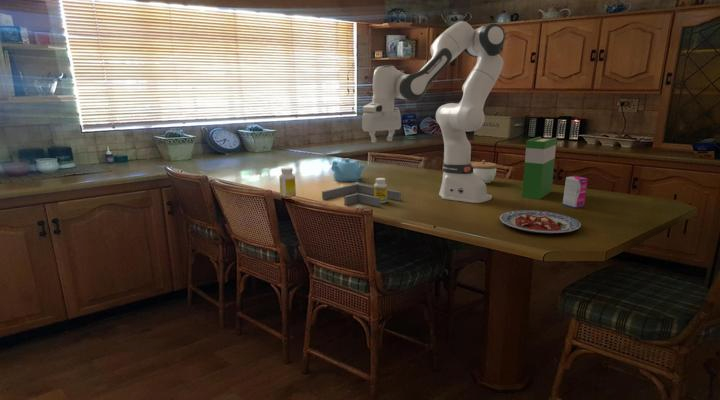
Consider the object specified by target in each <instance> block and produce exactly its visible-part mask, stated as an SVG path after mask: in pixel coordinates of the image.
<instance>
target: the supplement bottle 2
mask: <svg viewBox="0 0 720 400" xmlns="http://www.w3.org/2000/svg"><path fill="white" fill-rule="evenodd" d="M373 187H374V195H373V196H375V197H379V198H380V204H383V203H387V202H388V198H387V189H388V185H387V183H386V178H385V177H377V178H375V183H374V185H373Z"/></svg>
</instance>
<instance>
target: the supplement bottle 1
mask: <svg viewBox="0 0 720 400" xmlns="http://www.w3.org/2000/svg"><path fill="white" fill-rule="evenodd" d="M280 171H281V174H280V175H279V176H278V177H279V178H278V179H279V180H278V181H279V194H280V196H281V195H291V196H296V197H297V192H296V191H297V189H296V176H295V174H294V173H293V171H294V170H293V167H281V169H280Z"/></svg>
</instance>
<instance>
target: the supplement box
mask: <svg viewBox="0 0 720 400" xmlns="http://www.w3.org/2000/svg"><path fill="white" fill-rule="evenodd" d="M588 180H589V179H588V178H586V177H582V176H578V175H572V176H566V177H565V181H564V183H565V184H564V192H563V199H562V206H565V207H569V208H571V209H576V208H581V207H585V202H586V194H587V188H588Z"/></svg>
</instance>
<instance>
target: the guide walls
mask: <svg viewBox="0 0 720 400" xmlns="http://www.w3.org/2000/svg"><path fill="white" fill-rule="evenodd" d="M343 196H344V197H343ZM321 197H322V199H323V201H326V200H330V199H333V198H334V199H335V198H338V197H343V199H344V206H350V205H353V203H354V204H358V203H360V204H364V205H370V206H372V205H373V206H372V207H377V208H379V207H381V203H380V198H379V197H375V196H374V186H371V185H366V184H361V183H354V184H349V185H345V186H340V187H336V188H332V189H326V190H323V191H321ZM387 200H393V201H398V202H399V201H401V200H402V191H398V190H392V189H388V188H387Z"/></svg>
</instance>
